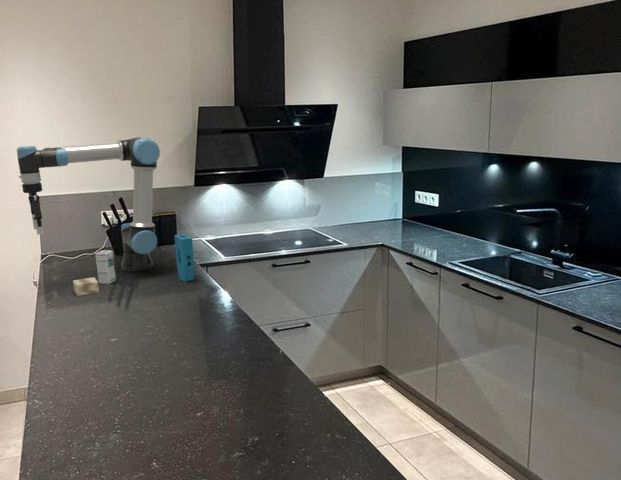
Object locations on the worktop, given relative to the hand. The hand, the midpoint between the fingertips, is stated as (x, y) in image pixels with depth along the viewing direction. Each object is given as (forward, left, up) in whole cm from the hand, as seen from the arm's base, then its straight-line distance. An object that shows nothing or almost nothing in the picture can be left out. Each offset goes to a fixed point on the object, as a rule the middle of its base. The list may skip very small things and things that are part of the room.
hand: (39, 231), depth 251 cm
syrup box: (-26, +3, -27) cm, 37 cm away
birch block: (-15, +13, -27) cm, 33 cm away
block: (-58, +20, -27) cm, 67 cm away
